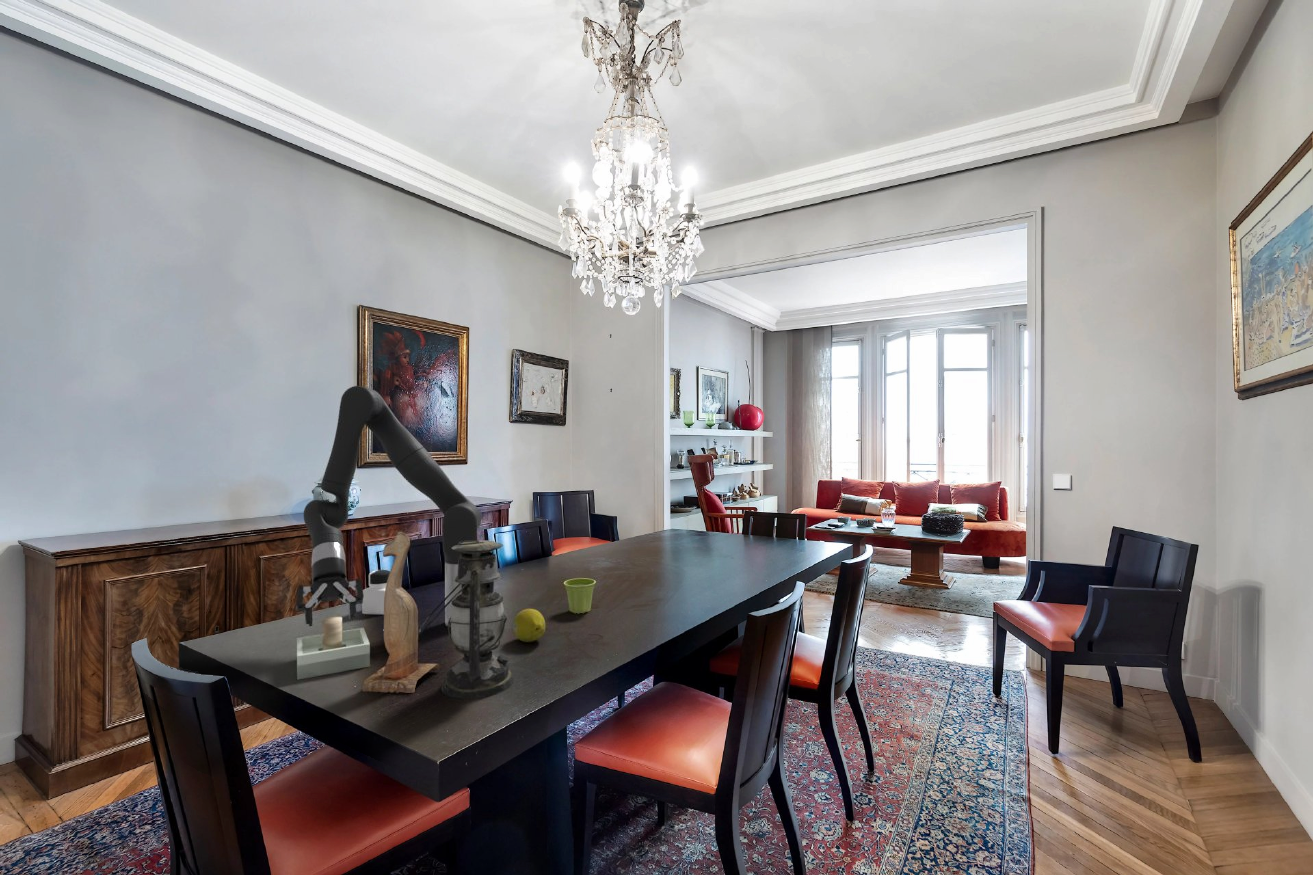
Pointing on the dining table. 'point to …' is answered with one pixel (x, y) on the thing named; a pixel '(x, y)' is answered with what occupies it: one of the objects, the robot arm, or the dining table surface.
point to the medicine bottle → (375, 592)
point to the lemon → (529, 625)
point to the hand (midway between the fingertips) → (331, 621)
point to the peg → (331, 633)
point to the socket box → (332, 654)
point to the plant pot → (579, 594)
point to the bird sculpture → (399, 630)
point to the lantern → (476, 625)
